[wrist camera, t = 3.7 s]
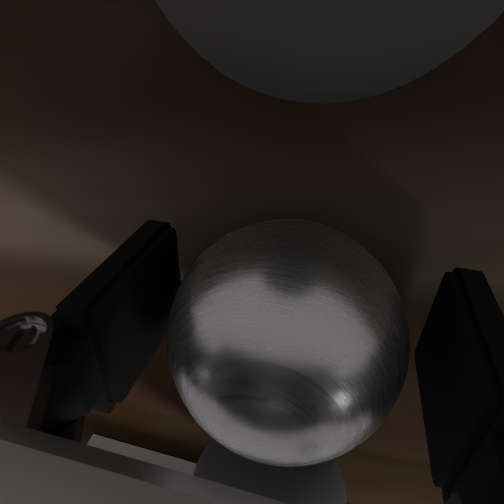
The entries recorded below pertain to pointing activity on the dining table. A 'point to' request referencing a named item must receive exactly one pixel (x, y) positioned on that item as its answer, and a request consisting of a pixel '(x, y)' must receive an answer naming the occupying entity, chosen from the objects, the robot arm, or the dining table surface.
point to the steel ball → (288, 342)
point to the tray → (142, 454)
